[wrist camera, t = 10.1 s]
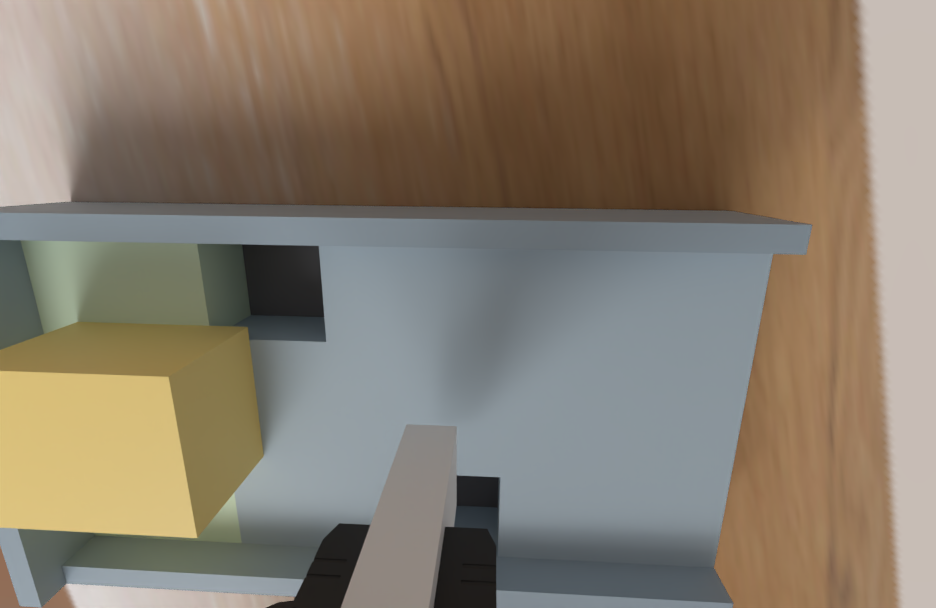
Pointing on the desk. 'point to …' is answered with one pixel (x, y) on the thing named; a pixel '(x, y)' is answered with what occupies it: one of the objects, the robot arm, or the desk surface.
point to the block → (126, 427)
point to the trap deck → (430, 380)
